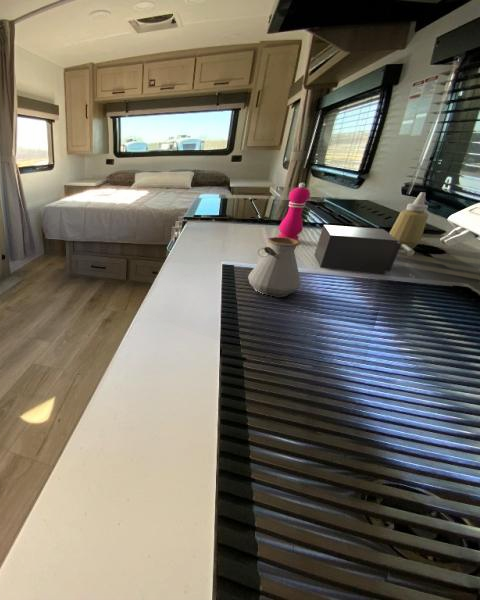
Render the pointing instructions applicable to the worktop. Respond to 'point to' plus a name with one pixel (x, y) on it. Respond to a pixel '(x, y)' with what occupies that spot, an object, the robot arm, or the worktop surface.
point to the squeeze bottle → (411, 223)
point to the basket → (403, 248)
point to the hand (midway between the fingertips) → (443, 243)
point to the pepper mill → (294, 213)
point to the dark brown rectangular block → (355, 249)
